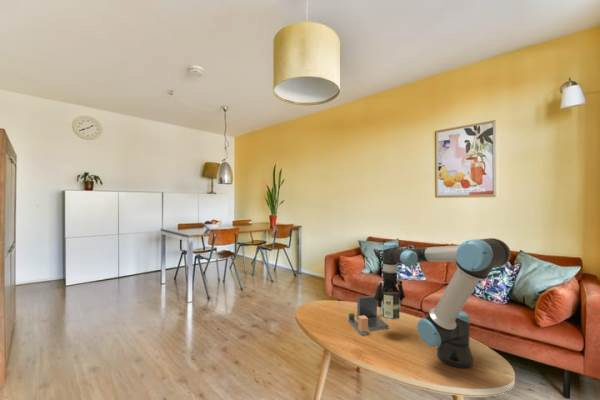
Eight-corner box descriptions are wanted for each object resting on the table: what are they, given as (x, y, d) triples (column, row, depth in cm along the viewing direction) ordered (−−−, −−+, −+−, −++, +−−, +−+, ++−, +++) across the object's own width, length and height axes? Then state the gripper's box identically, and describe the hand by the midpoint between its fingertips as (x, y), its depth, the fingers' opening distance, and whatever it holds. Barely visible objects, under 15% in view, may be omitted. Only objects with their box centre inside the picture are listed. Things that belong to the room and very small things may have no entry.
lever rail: (366, 335, 154) (367, 326, 154) (361, 335, 153) (362, 326, 153) (353, 321, 171) (353, 313, 171) (348, 321, 170) (348, 313, 170)
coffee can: (396, 312, 158) (396, 287, 158) (402, 320, 147) (402, 293, 147) (377, 312, 158) (377, 287, 158) (382, 320, 147) (382, 293, 148)
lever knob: (367, 330, 154) (368, 318, 154) (361, 331, 153) (361, 319, 153) (364, 327, 158) (364, 315, 158) (357, 328, 157) (358, 316, 157)
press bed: (388, 328, 162) (388, 304, 162) (369, 331, 159) (370, 306, 159) (374, 317, 178) (374, 295, 177) (357, 319, 175) (357, 296, 174)
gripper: (403, 268, 159) (403, 307, 159) (367, 270, 153) (367, 311, 153) (412, 271, 152) (411, 312, 152) (375, 274, 146) (374, 316, 146)
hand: (389, 312), depth 153 cm, fingers closed on coffee can, 10 cm apart
